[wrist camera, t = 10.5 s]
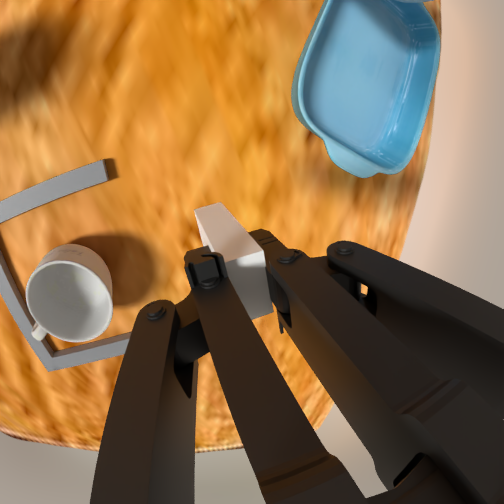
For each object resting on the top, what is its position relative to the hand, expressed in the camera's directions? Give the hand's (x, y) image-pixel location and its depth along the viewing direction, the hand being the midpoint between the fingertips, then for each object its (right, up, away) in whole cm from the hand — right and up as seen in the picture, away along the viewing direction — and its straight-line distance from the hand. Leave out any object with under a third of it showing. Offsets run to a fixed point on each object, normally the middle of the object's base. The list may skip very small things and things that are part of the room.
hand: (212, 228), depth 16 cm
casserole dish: (+18, +28, +19) cm, 38 cm away
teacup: (-22, -5, +18) cm, 29 cm away
